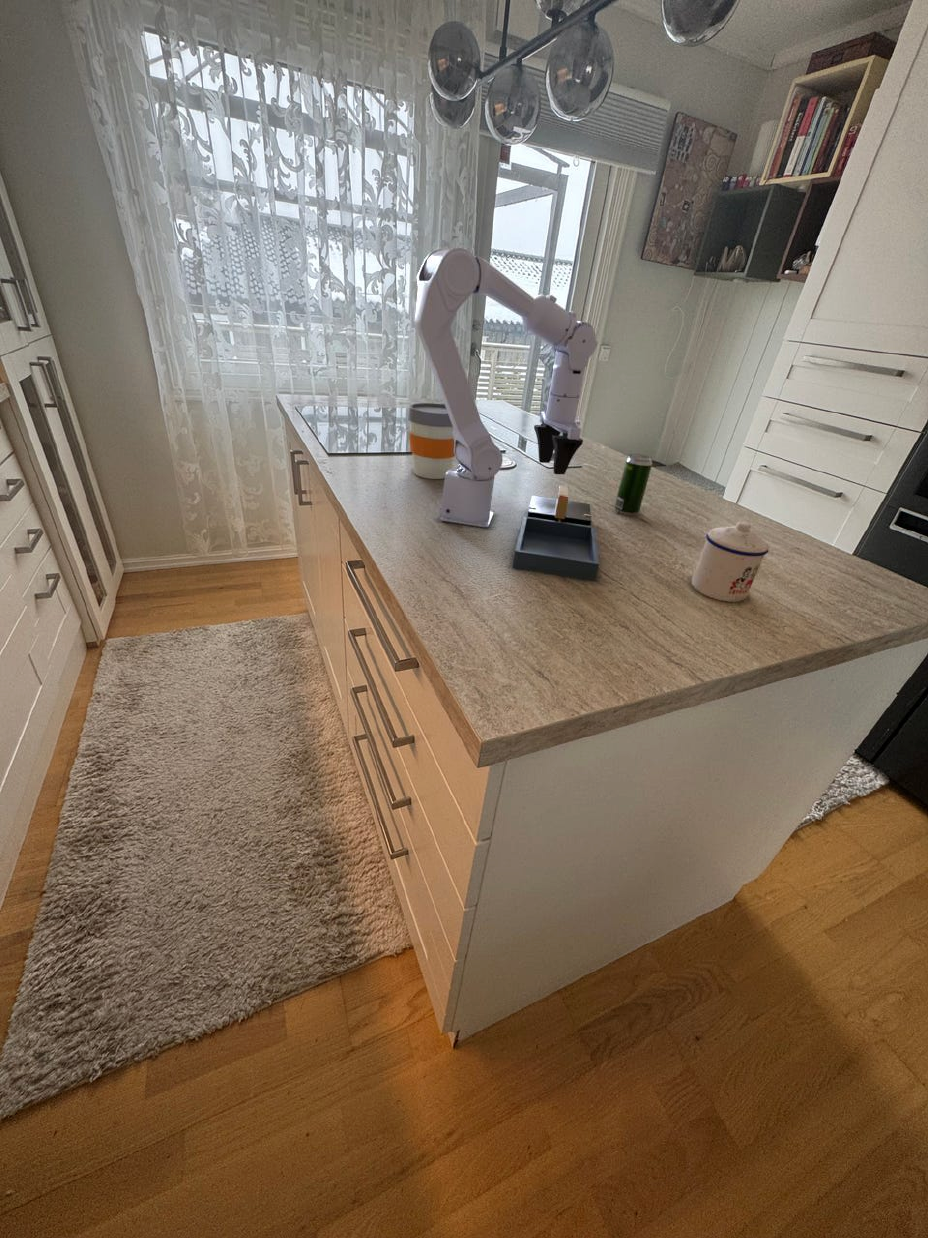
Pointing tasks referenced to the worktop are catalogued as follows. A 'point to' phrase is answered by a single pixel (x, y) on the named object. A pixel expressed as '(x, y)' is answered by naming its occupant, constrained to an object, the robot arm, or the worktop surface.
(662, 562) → the worktop surface
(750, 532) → the teacup with lid
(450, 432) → the reusable coffee cup
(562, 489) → the yellow-brown long block
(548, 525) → the tray
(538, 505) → the black cupboard
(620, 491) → the beer can
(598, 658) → the worktop surface
